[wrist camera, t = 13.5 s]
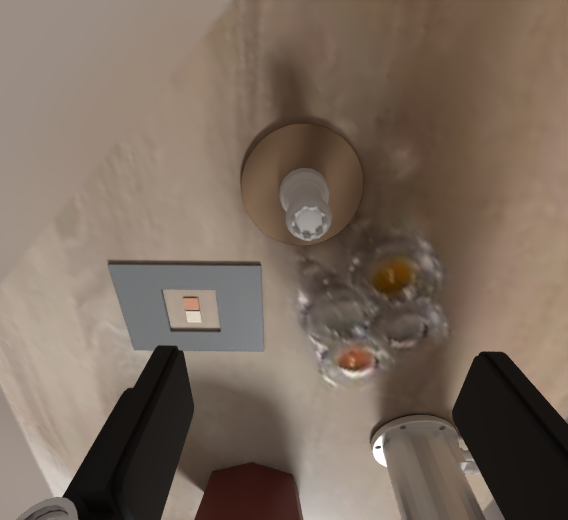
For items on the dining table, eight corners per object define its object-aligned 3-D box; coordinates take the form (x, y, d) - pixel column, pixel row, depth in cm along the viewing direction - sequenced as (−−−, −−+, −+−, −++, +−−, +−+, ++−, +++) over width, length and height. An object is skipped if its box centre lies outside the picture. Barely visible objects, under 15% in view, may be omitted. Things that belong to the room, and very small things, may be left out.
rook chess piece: (270, 182, 26) (263, 212, 19) (314, 156, 25) (324, 177, 18) (294, 223, 28) (296, 263, 21) (336, 200, 27) (354, 234, 20)
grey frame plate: (261, 264, 31) (260, 266, 31) (264, 349, 37) (263, 351, 36) (109, 263, 31) (107, 264, 31) (135, 348, 37) (134, 350, 36)
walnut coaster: (370, 123, 25) (371, 123, 24) (354, 243, 30) (355, 246, 29) (238, 122, 25) (237, 123, 24) (245, 242, 30) (244, 245, 29)
